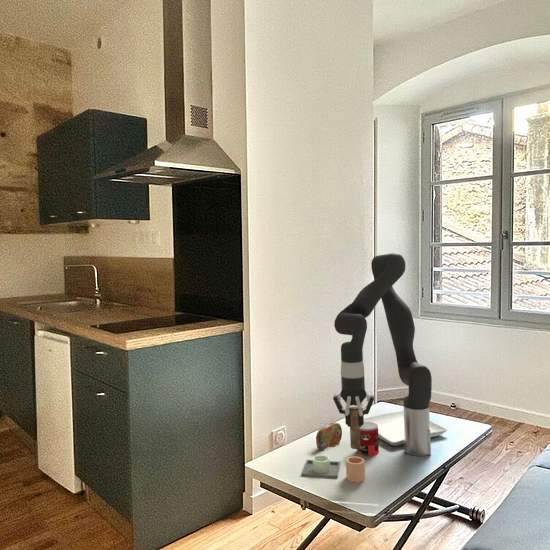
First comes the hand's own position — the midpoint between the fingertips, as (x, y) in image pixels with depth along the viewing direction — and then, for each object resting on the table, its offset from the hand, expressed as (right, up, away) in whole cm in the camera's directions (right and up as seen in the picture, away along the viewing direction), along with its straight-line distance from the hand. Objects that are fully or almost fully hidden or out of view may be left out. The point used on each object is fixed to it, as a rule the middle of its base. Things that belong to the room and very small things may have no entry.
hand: (354, 425), depth 163 cm
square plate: (+26, -16, +42) cm, 52 cm away
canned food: (+8, -17, +22) cm, 29 cm away
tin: (-5, -18, +30) cm, 35 cm away
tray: (-10, -19, +8) cm, 23 cm away
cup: (+1, -19, +1) cm, 19 cm away
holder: (-10, -18, +8) cm, 22 cm away
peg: (0, -7, 0) cm, 7 cm away
